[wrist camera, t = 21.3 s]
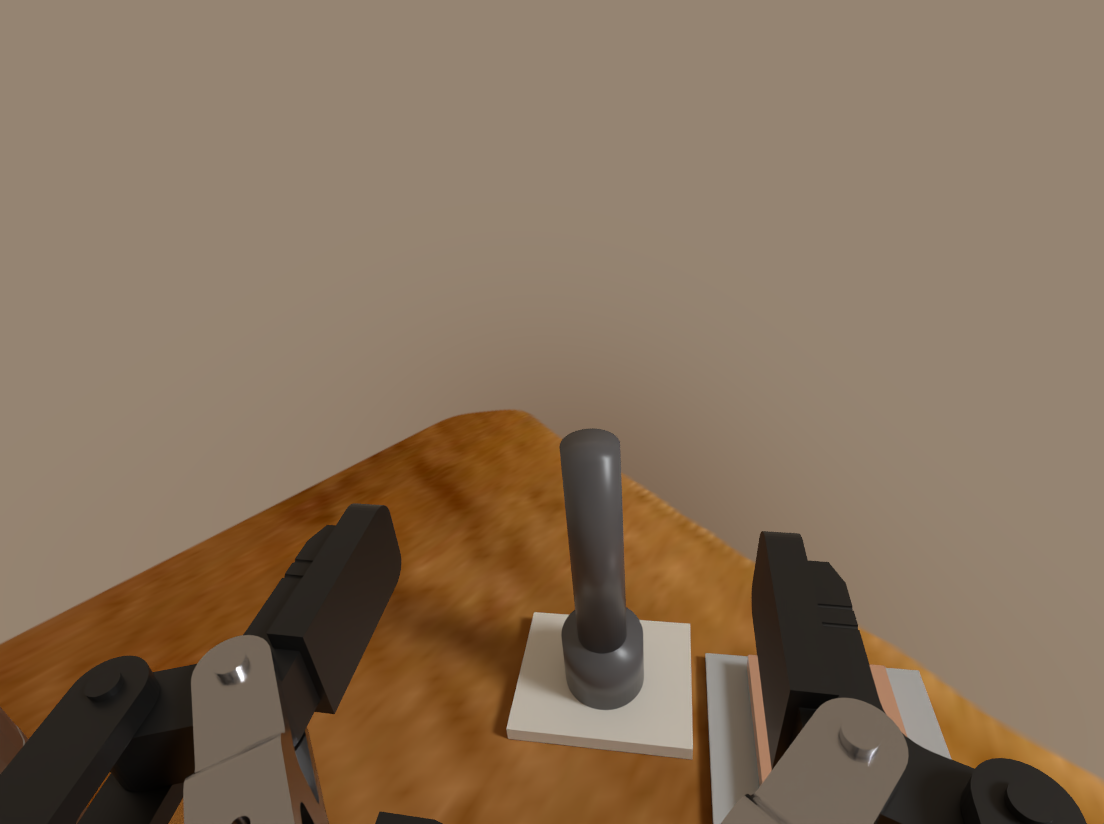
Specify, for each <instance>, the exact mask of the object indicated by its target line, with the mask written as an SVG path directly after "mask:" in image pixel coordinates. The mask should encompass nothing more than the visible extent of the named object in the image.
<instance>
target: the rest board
mask: <svg viewBox="0 0 1104 824" xmlns="http://www.w3.org/2000/svg"><path fill="white" fill-rule="evenodd" d="M568 616H569V615H564V614H551V613H537V612H534V615H533V620H532V624H531V628H530V632H529V636H528V640H527V645H526V649H525V653H524V657H523V661H522V665H521V670H520V674H519V678H518V682H517V686H516V691H515V695H514V699H513V703H512V707H511V711H510V716H509V720H508V724H507V728H506V730H507V735H508V739H515V740H524V741H533V742H542V743H550V744H559V745H568V746H577V747H586V748H595V749H604V750H613V751H622V752H631V753H640V754H648V755H657V756H666V757H675V758H684V759H692V755H693V735H692V690H691V644H690V624H685V623H672V622H658V621H645V620H639V621H640V623H641V625H642V628H643V651H644V681H643V685H642V688H641V690H640V692H639V694H638V695H637V696H636V697H635V699H633V700H632V701H631V702H630V703H628V704H627V705H625V706H623V707H620V708H617V709H613V710H598V709H594V708H590V707H588V706H586V705H584V704H582V703H581V702H580V701H578V700H577V699H576V698H575V697H574V696H573V694H572V693H571V691H570V689H569V687H568V685H567V680H566V672H565V663H564V655H563V646H562V637H561V633H562V627H563V624H564V622H565V620H566V619H567V617H568Z"/></svg>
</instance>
